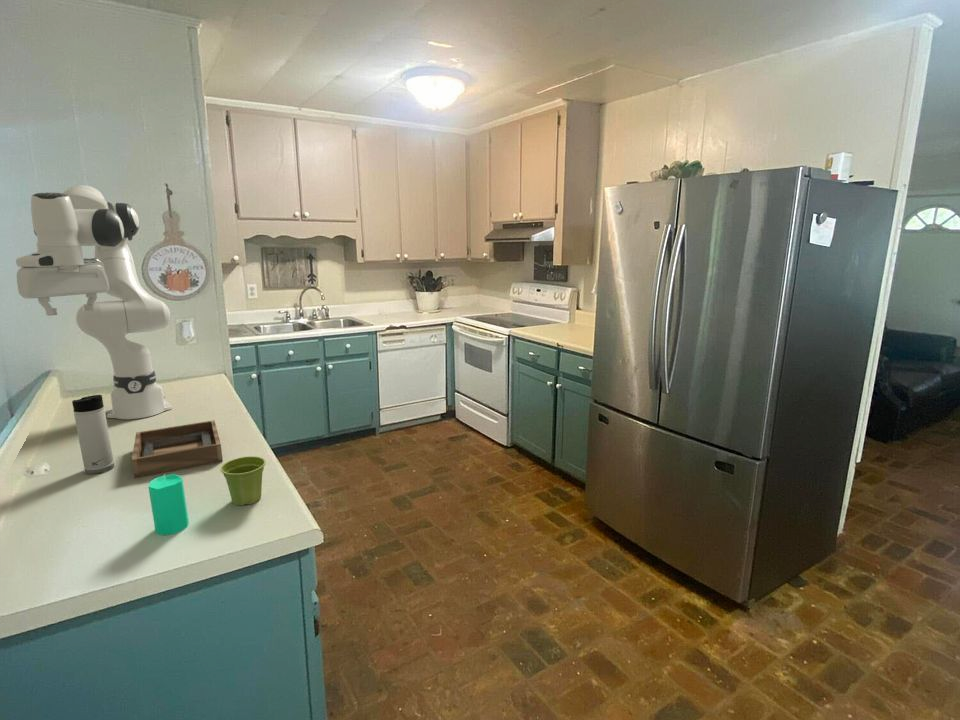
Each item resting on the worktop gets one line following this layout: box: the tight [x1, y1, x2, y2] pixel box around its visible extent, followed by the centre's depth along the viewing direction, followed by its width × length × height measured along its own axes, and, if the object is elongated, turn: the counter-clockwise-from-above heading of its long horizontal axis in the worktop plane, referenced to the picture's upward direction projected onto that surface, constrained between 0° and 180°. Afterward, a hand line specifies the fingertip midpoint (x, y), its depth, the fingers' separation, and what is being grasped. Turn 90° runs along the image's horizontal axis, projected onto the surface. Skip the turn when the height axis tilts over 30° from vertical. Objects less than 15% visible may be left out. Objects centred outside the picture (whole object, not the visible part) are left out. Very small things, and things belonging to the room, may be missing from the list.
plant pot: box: [220, 455, 267, 506], centre depth 118 cm, size 9×9×9 cm
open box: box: [131, 419, 224, 479], centre depth 143 cm, size 22×20×5 cm
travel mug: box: [71, 394, 115, 475], centre depth 133 cm, size 6×7×20 cm
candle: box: [147, 473, 190, 536], centre depth 106 cm, size 6×6×12 cm
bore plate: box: [143, 431, 212, 457], centre depth 143 cm, size 16×16×2 cm
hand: (71, 313), depth 134 cm, fingers open, 8 cm apart
